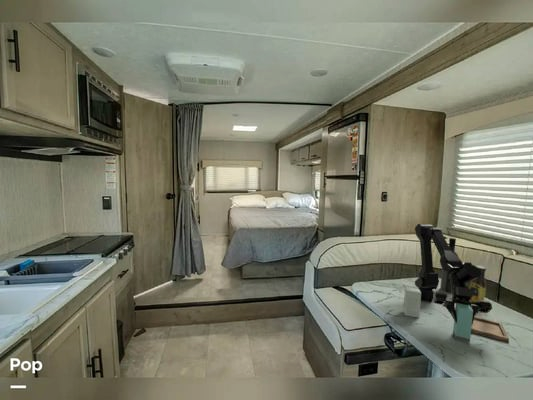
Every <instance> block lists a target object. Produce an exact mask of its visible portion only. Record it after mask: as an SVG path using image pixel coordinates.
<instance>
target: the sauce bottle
mask: <svg viewBox="0 0 533 400" xmlns="http://www.w3.org/2000/svg"><path fill="white" fill-rule="evenodd" d="M475 266H476V267H477V268H478V269H479V270H480V272H481V276H480V277H478V278H477V279H475V280H473V281H471V282H469V287H468V288H469V289H471V287H475V288H478V294H479V295H478V296H473V298H472V297H471V300H469V301H471V302H477V301H478V300H483V301H485V298H486V297H485V296H486V290H487V280H486V278H485V277H486V276H485V275H486V273H485V272H486V270H487V268H486V267H485V266H482V265H475Z"/></svg>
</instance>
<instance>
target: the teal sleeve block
mask: <svg viewBox="0 0 533 400" xmlns="http://www.w3.org/2000/svg"><path fill="white" fill-rule="evenodd" d="M455 312H456V316H457V323H455V321H454V320H453V330H452V334H453V337H454V338H455V340H456V341H462V342H465V343H471V333H472V332H471V326H472V317H473V310H472V308H471V307H470V305H464V304H459V303H456V304H455Z"/></svg>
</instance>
